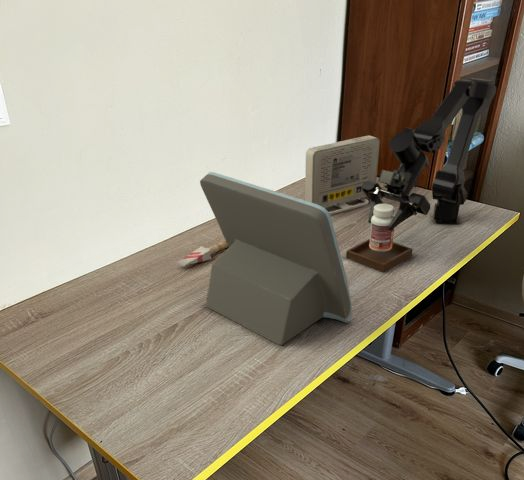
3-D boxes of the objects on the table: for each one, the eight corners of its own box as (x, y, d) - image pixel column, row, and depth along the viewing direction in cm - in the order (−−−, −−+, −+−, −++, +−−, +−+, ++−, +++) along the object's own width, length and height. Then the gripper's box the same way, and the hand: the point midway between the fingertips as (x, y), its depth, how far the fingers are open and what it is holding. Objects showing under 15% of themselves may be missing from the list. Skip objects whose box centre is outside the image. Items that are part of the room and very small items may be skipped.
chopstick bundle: (174, 257, 148) (227, 235, 160) (175, 266, 149) (227, 244, 162) (184, 261, 146) (236, 238, 158) (185, 270, 147) (237, 247, 160)
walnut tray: (374, 242, 158) (375, 235, 157) (411, 255, 151) (412, 248, 150) (346, 258, 151) (346, 250, 150) (383, 272, 144) (384, 264, 143)
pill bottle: (395, 251, 147) (399, 210, 141) (372, 253, 147) (375, 212, 140) (388, 241, 152) (392, 201, 146) (366, 243, 152) (369, 203, 145)
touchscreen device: (355, 318, 126) (362, 190, 108) (298, 358, 116) (295, 224, 98) (249, 270, 147) (239, 156, 129) (192, 301, 136) (173, 181, 118)
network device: (363, 193, 190) (367, 133, 179) (380, 201, 184) (385, 139, 172) (301, 210, 180) (301, 147, 168) (316, 218, 174) (318, 153, 162)
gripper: (367, 149, 144) (338, 202, 144) (430, 163, 133) (398, 221, 133) (383, 171, 153) (355, 222, 153) (443, 187, 142) (413, 241, 142)
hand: (379, 226), depth 145 cm, fingers closed on pill bottle, 6 cm apart
